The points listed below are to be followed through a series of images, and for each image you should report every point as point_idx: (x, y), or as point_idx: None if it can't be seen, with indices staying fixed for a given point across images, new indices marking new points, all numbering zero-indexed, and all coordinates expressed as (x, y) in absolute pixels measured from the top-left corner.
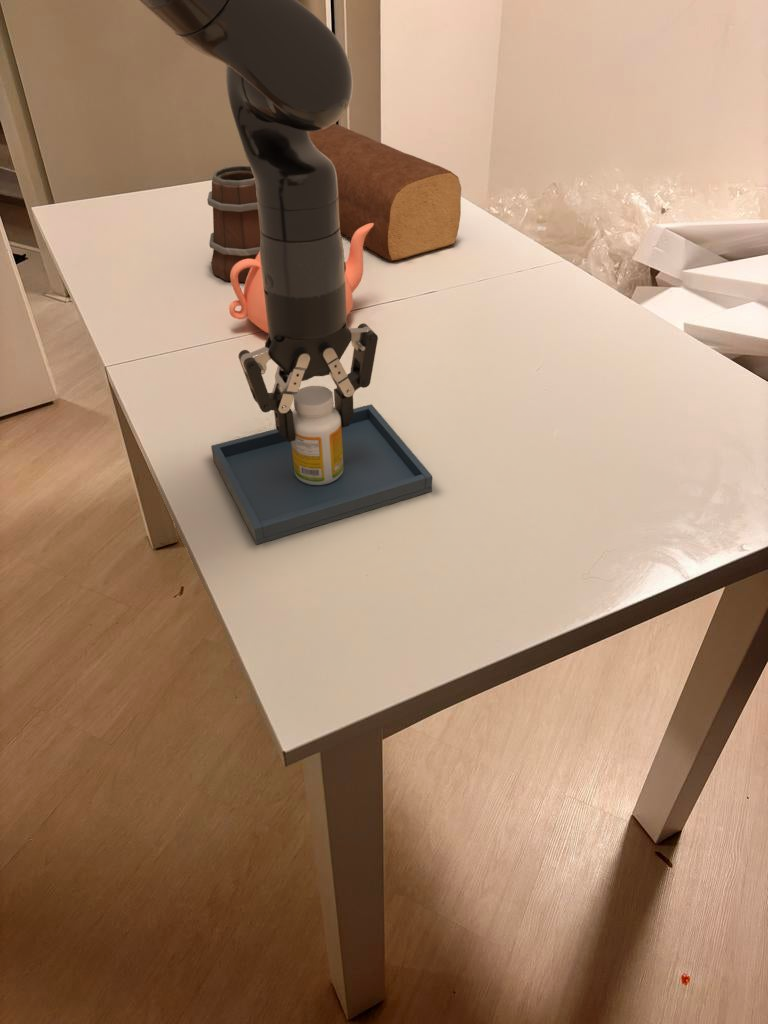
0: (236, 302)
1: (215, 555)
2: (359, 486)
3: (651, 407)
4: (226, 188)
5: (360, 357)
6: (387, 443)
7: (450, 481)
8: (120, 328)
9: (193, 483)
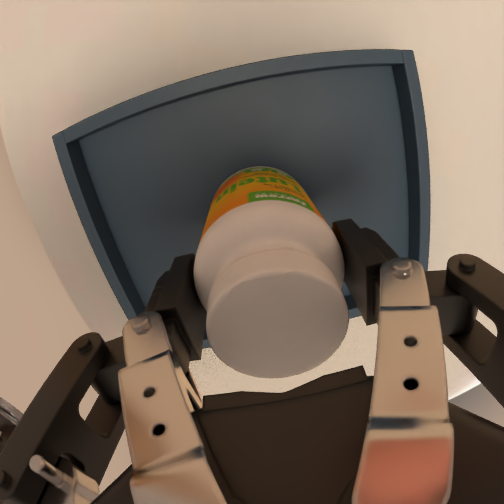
0: None
1: (110, 338)
2: None
3: None
4: None
5: (499, 376)
6: (404, 157)
7: (440, 264)
8: None
9: (49, 192)
